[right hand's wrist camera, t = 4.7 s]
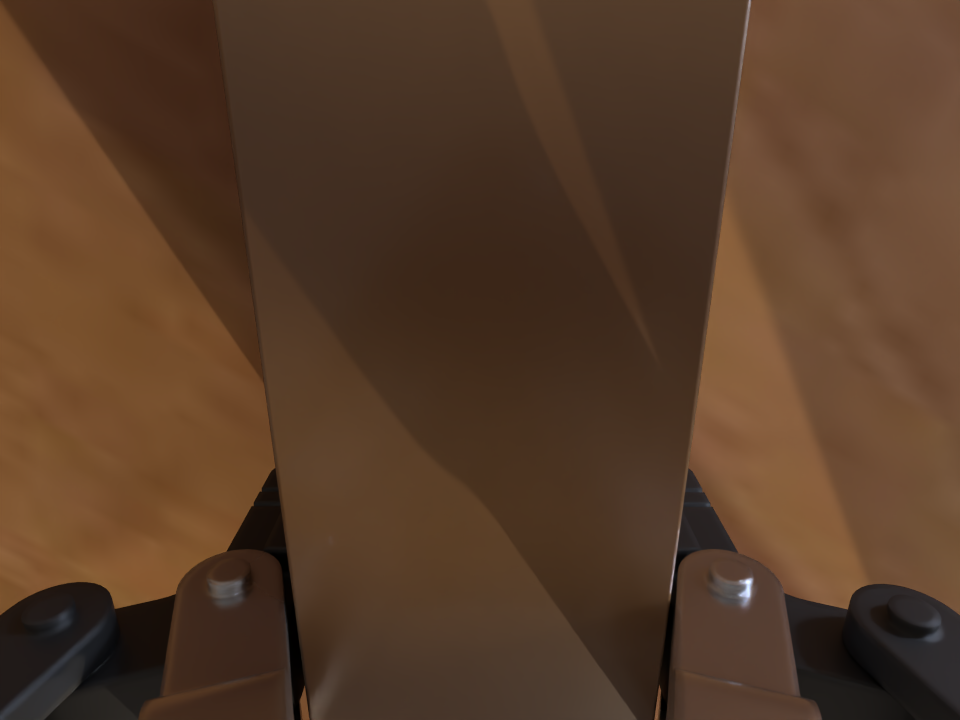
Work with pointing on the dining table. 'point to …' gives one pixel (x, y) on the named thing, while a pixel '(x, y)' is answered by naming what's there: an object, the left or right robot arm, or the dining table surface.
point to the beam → (481, 333)
